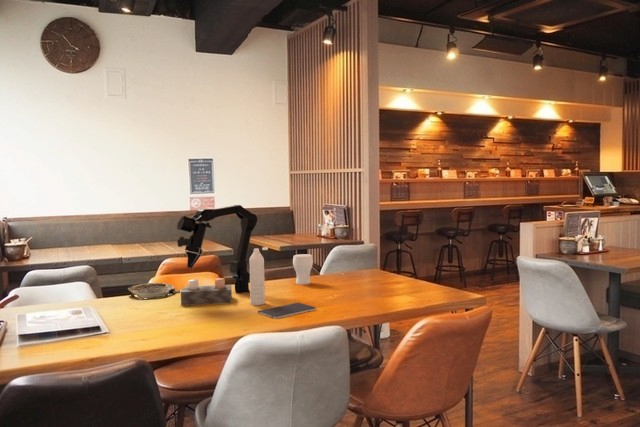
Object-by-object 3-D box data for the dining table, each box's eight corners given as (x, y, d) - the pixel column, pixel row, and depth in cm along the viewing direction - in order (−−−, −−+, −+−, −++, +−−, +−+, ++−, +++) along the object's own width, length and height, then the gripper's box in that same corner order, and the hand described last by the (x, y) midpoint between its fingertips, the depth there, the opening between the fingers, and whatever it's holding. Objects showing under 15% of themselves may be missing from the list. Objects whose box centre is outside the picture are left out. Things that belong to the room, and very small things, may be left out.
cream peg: (198, 291, 246) (198, 279, 246) (198, 293, 242) (197, 280, 242) (189, 292, 246) (188, 279, 246) (188, 294, 242) (187, 281, 241)
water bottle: (254, 306, 233) (252, 249, 232) (248, 303, 239) (246, 248, 237) (272, 303, 238) (270, 248, 236) (265, 300, 244) (264, 246, 242)
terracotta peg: (225, 290, 248) (224, 278, 248) (224, 292, 244) (224, 279, 243) (215, 290, 248) (215, 278, 247) (215, 292, 243) (214, 280, 243)
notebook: (298, 305, 235) (257, 314, 221) (298, 302, 235) (257, 310, 221) (316, 311, 225) (275, 320, 212) (316, 307, 225) (275, 316, 211)
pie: (118, 302, 247) (117, 292, 247) (123, 292, 273) (123, 282, 273) (180, 298, 254) (180, 287, 254) (179, 288, 281) (179, 278, 281)
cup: (290, 284, 280) (289, 256, 279) (297, 281, 290) (296, 253, 289) (309, 285, 277) (309, 257, 276) (315, 281, 287) (315, 254, 286)
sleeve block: (231, 297, 253) (231, 284, 252) (231, 302, 241) (230, 289, 240) (184, 299, 250) (183, 286, 249) (181, 305, 238) (180, 292, 237)
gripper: (183, 232, 257) (175, 264, 255) (178, 229, 239) (169, 263, 236) (206, 237, 258) (197, 269, 256) (203, 235, 240) (194, 269, 238)
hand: (189, 267), depth 246 cm, fingers open, 9 cm apart
